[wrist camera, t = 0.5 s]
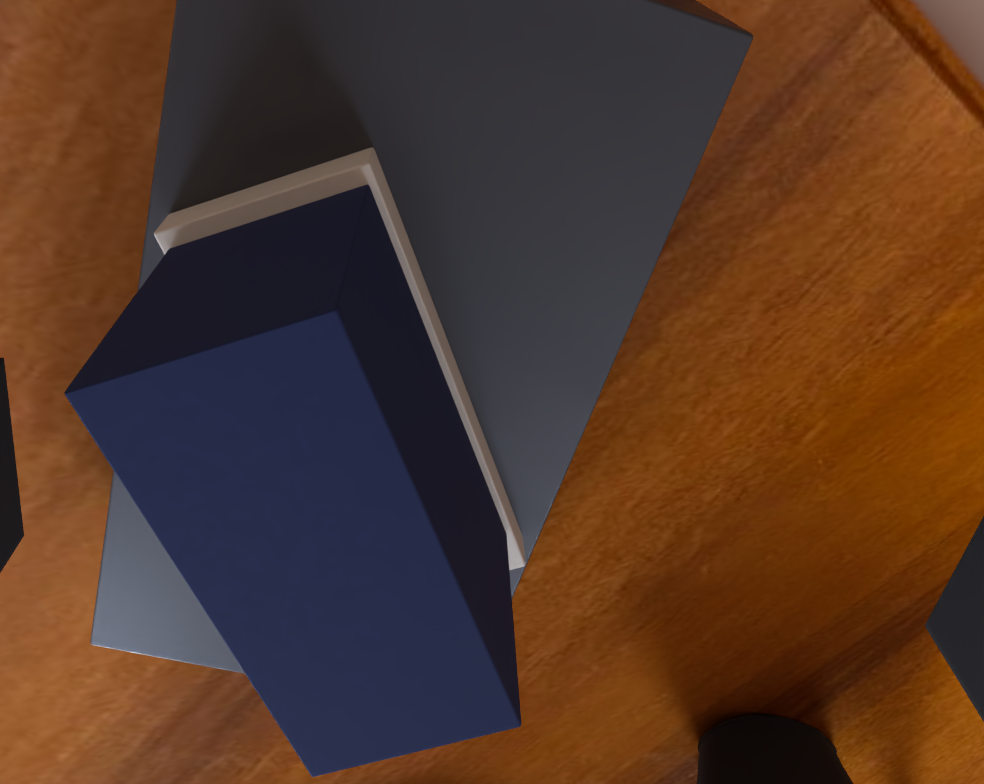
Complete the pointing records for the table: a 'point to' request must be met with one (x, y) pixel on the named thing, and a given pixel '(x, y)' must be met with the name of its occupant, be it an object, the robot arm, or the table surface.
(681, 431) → the table surface
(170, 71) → the shoe shelf
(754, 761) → the high-heeled shoe
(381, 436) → the navy block on base
